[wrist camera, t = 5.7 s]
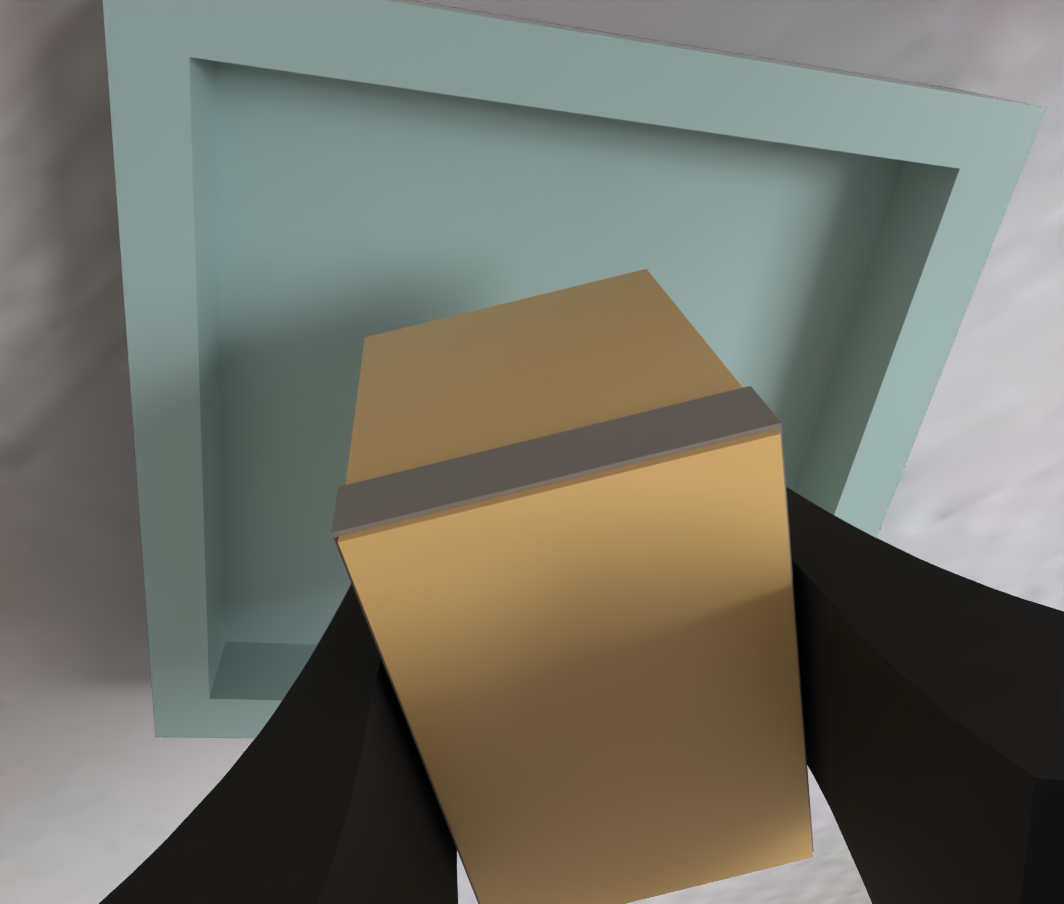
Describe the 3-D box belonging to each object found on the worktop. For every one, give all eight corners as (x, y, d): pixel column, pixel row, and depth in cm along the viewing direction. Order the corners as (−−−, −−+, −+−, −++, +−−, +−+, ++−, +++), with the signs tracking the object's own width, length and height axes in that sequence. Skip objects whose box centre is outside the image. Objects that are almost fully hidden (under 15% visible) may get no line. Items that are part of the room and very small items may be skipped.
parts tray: (963, 90, 15) (1046, 107, 13) (758, 675, 21) (794, 746, 19) (147, -42, 12) (99, -46, 10) (182, 657, 18) (155, 736, 16)
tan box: (649, 264, 12) (785, 428, 8) (698, 602, 15) (817, 858, 11) (360, 334, 12) (330, 538, 8) (466, 659, 15) (490, 939, 11)
